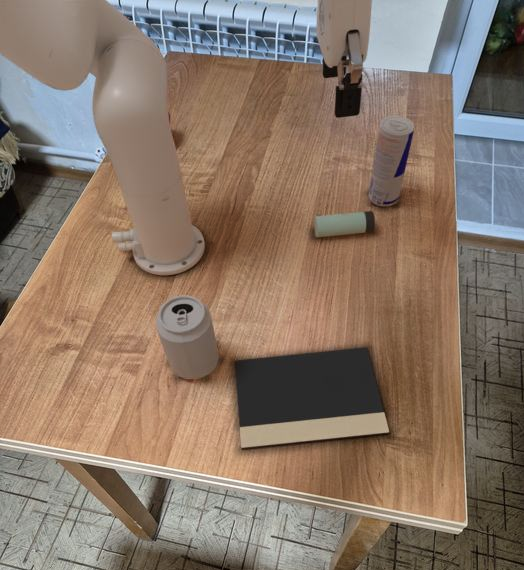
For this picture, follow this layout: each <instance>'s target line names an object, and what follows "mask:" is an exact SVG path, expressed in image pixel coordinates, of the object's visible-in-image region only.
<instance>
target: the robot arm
mask: <svg viewBox="0 0 524 570" xmlns="http://www.w3.org/2000/svg"><path fill="white" fill-rule="evenodd" d="M372 4H373V0H317V6H316V24H315V25H316V29H315V30H316V31H315V32H316V38H317V42H318V45H319V48H320V52H321V55H322V77H323V78H324V79H331V78H337V82H338V83H337V84H338V85H336V86H335V97H334V117H335V118H338V119H339V118H349V117H355V116H359V115H360V113H361V102H362V92H363V80H364V79H363V76H364V75H363V69H364V63H365V62H366V61H367V57H368V51H369V43H370V33H371V32H370V31H371V21H372V20H371V19H372ZM0 55H1V56H2V57H4V58H5V59H6V60H7V61H9V62H11V63H12V64H13V65H15V66H16V67H17V68H19V69H20V70H22V71H24V73H26V74H28V75H29V76H31V77H32V78H34V79H35V80H36V81H38V82H39V83H42V84H43V85H45V86H47V87H49V88H51V89H54V90H58V91H63V92H66V91H73V90H76V89H78V88H79V87H80V86H82V84H84V82H85V81H86V80H87V78H88V77H89V74H91V75H92V76H93V77H94V78H95V81H94V87H93V92H92V102H91V103H92V105H91V107H92V110H91V111H92V119H93V124H94V127H95V130H96V132H97V135H98V138H99V139H100V141H101V143H102V145H103V147H104V149H105V151H106V153H107V155H108V158H109V161H110V162H111V165H112V168H113V171H114V174H115V177H116V180H117V183H118V185H119V187H120V191H121V194H122V198H123V200H124V204H125V207H126V210H127V212H128V215H129V218H130V221H131V224H132V227H133V228H130V229H129V230H128V231H127V230H126V231H123V230H121V231H112V232H111V240H112V243H113V244H117V249H118V251H119V252H127V251H132V256H133V259H134V261H135V263H136V265H137V266H138V267H139V268H140V269H141V270H143V271H144V272H147V273H149V274H151V275H156V276H174V275H177V274H181V273H183V272H186V271H188V270H190V269H191V268H193V267H194V266H195V265H196V264H198V263H199V261H200V260H201V259H202V257H203V255H204V253H205V249H206V243H205V239H204V238H205V237H204V236H203V233H202V232H201V230H200V229H199V228H197V227H196V226H195V225H193V224H192V219H191V215H190V209H189V204H188V200H187V199H188V198H187V194H186V191H185V185H184V180H183V176H182V171H181V167H180V166H181V165H180V160H179V156H178V152H177V148H176V143H175V141H174V137H173V133H172V128H171V122H170V123H169V115H168V111H169V105H168V102H169V99H168V98H169V92H168V83H169V82H168V81H169V80H168V79H169V78H168V68H167V63H166V60H165V57H164V55H163V53H162V51H161V50H160V48H159V47H158V46H157V44H156V43H155V42H154V41H153V40H152V39H151V38H150V37H149V36H148V35H147V34H146V33H145V32H144V31H143V30H142V29H140V28H139V27H138V25H136V24H135V23H133V22H132V21H131V20H130V19H129V18H127V16H125V15H124V14H123V13H122V12H121V11H119V9H117V8H116V7H115V6H114V5H113V4H111V3H110V2H109V1H108V0H0ZM347 68H348V72H347Z"/></svg>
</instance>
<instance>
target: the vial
mask: <svg viewBox="0 0 524 570" xmlns="http://www.w3.org/2000/svg"><path fill="white" fill-rule="evenodd" d="M313 218H314V219H313V227H314V229H313V230H314V235H315V237H316V238H325V237H335V236H336V237H337V236H346V235H354V234H355V235H357V234H364V233H365V234H367V233H373V232H374V231H375V228H376V218H375V214H374V211H373V210H367V211H357V212H356V211H355V212H345V213H335V214H326V215H315V216H314V217H313Z"/></svg>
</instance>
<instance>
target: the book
mask: <svg viewBox="0 0 524 570" xmlns="http://www.w3.org/2000/svg"><path fill="white" fill-rule="evenodd" d="M234 372H235V382H236V383H235V384H236V396H237V408H238V409H237V411H238V423H239V436H240V437H239V438H240V439H239V440H240V448H241V450H250V449H260V448H269V447H278V446H279V447H281V446H287V445H298V444H307V443H316V442H327V441H336V440H345V439H355V438H365V437H375V436H382V435H384V436H385V435H389V434H390V429H389V426H388V421H387V417H386V414H385V412H384V407H383V402H382V399H381V395H380V391H379V387H378V384H377V383H378V382H377V379H376V375H375V370H374V368H373V364H372V360H371V356H370V351H369V348H368V346H365V347H356V348H344V349H336V350H326V351H317V352H306V353H296V354H295V353H294V354H287V355H285V354H284V355H277V356H267V357H258V358H257V357H256V358H247V359H238V360H236V359H235V360H234Z"/></svg>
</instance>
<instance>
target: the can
mask: <svg viewBox="0 0 524 570" xmlns="http://www.w3.org/2000/svg"><path fill="white" fill-rule="evenodd" d="M155 329H156V332H157V335H158V336H159V340H160V343H161V346H162V348H163V351H164V354H165V356H166V357H165V358H166V359H167V362H168V364H169V367H170V369H171V371H172V372H173V373H174V374H175V375H177V376H178V377H180V378H182V379H185V380H197V379H202V378H205V377H206V376H208V375H209V374H210V373H212V372H213V371H214V370H215V369H216V367H217V365H218V363H219V359H220V353H219V348H218V344H217V343H218V342H217V339H216V333H215V329H214V325H213V319H212V314H211V311H210V309H209V307H208V306H207V305H206V304H205V303H203V302H202V301H201V300H200V299H199V298H197V297H195V296H193V295H188V294H181V295H175V296H173V297H170V298H168V299H167V300H166V301H165V302H163V303H162V304H161V306H160V307H159V309H158V313H157V315H156V319H155Z"/></svg>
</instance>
